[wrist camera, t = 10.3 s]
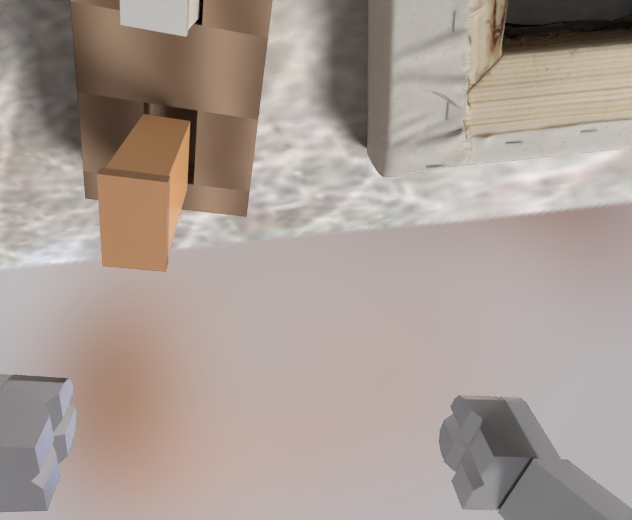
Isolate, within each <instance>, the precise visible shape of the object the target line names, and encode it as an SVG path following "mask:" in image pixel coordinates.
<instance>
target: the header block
mask: <svg viewBox="0 0 632 520" xmlns="http://www.w3.org/2000/svg"><path fill="white" fill-rule="evenodd" d="M70 1H71V14H72V28H73V41H74V54H75V67H76V81H77V94H78V107H79V120H80V134H81V147H82V160H83V173H84V187H85V198H86V199H94V200H99V199H98V183H97V173H98V172H99V170H100V169H101V168H105V167H106V166H107V165H108V163H109V162H110V160H111V159H112V158H113V156H114V155H115V153H116V152H117V151H118V149H119V148H120V146H121V145H122V143H123V142H124V141H125V139H126V138H127V136H128V135H129V134H130V132H131V131H132V129H133V128H134V127H135V125H136V124H137V122H138V121H139V119H140V118H141V117H142V115H143V114H146V115H153V116H159V117H166V118H173V119H180V120H187V121H190V138H189V160H188V182H187V192H186V195H185V199H184V202H183V206H182V209H183V210H192V211H200V212H209V213H218V214H227V215H236V216H245V217H246V216H247V208H248V199H249V191H250V183H251V174H252V166H253V158H254V149H255V141H256V133H257V124H258V116H259V108H260V99H261V91H262V83H263V74H264V66H265V58H266V49H267V41H268V33H269V24H270V16H271V8H272V0H204V1H203V14H202V15H201V16H200V17H199V19H198V20H197V21H196V22H195V23H194V24H193V25H192V26H191V27H190V28H189V30H188V35H187V36H186V37H185V36H179V35H174V34H168V33H162V32H157V31H151V30H146V29H140V28H135V27H129V26H124V25H120V0H70Z"/></svg>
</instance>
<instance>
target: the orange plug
mask: <svg viewBox="0 0 632 520" xmlns="http://www.w3.org/2000/svg"><path fill="white" fill-rule="evenodd" d="M189 138H190V121H187V120H180V119H173V118H166V117H159V116H153V115H146V114H143V115H142V117H141V118H140V119H139V121H138V122H137V124H136V125H135V127H134V128H133V129H132V131H131V132H130V134H129V135H128V136H127V138H126V139H125V141H124V142H123V143H122V145H121V146H120V148H119V149H118V151H117V152H116V153H115V155H114V156H113V158H112V159H111V160H110V162H109V163H108V165H107V166H106V167H105V168H101V169H100V170H99V172H98V173H97V183H98V199H99V216H100V233H101V250H102V266H107V267H118V268H130V269H140V270H152V271H163V272H166V269H167V265H168V253H169V250H170V247H171V243H172V240H173V237H174V233H175V230H176V226H177V223H178V219H179V216H180V212H181V209H182V206H183V202H184V199H185V195H186V192H187V182H188V160H189Z"/></svg>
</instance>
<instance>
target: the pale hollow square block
mask: <svg viewBox="0 0 632 520" xmlns="http://www.w3.org/2000/svg"><path fill="white" fill-rule="evenodd" d="M507 6H508V0H368V135H367V153H368V156H369V158H370V160H371V162H372V164H373V165H374V167H375V168H376V170H377V171H378V173H379V174H380V175H381V176H383V177H396V176H404V175H411V174H417V173H422V172H426V171H431V170H435V169H441V168H450V167H459V166H467V165H478V164H487V163H495V162H505V161H515V160H524V159H534V158H543V157H553V156H562V155H571V154H581V153H591V152H601V151H610V150H620V149H629V148H632V20H631V21H628V20H630V19H632V14H631V15H630V16H627V17H625V18H621V19H618V20H615V21H606V20H592V21H581V20H579V21H572V22H561V23H551V24H544V25H520V24H512V23H505V19H506V13H507ZM505 27H512V28H505Z"/></svg>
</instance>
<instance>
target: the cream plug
mask: <svg viewBox="0 0 632 520" xmlns="http://www.w3.org/2000/svg"><path fill="white" fill-rule="evenodd" d="M203 1H204V0H120V25H124V26H129V27H135V28H140V29H146V30H151V31H157V32H162V33H168V34H174V35H179V36H185V37H186V36H187V35H188V30H189V28H190V27H191V26H192V25H193V24H194V23H195V22H196V21H197V20H198V19H199V17H200V16H201V15H202V14H203Z"/></svg>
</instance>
